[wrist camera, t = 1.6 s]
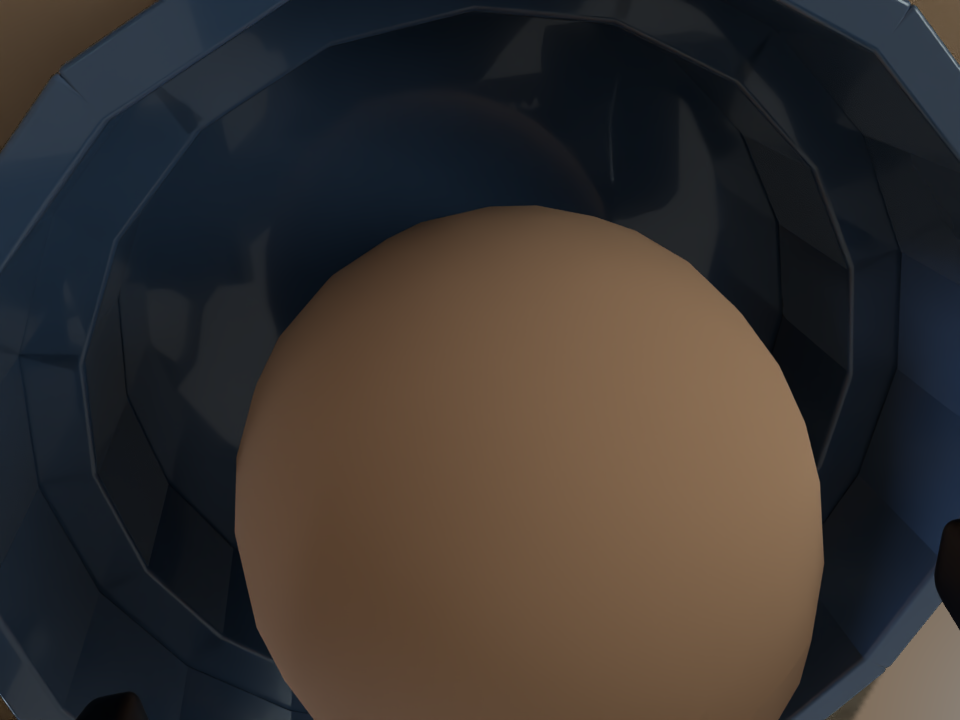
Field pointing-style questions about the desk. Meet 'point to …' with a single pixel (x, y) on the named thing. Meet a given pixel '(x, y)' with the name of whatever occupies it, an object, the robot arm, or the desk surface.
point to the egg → (528, 485)
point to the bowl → (426, 196)
